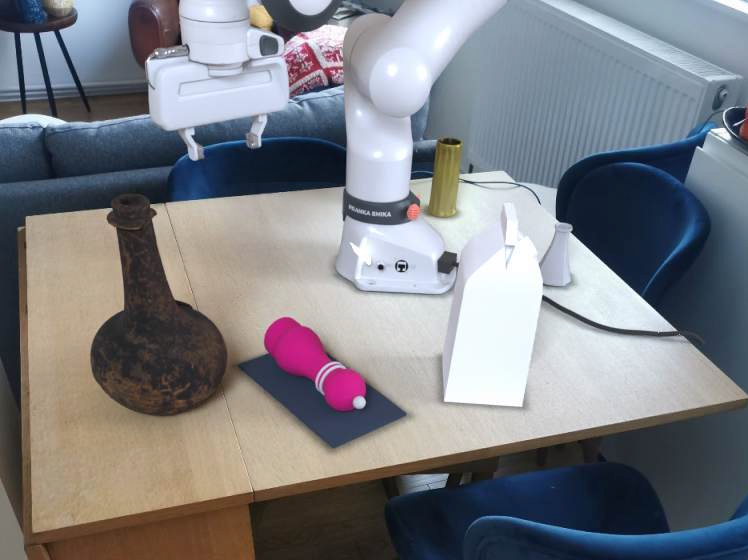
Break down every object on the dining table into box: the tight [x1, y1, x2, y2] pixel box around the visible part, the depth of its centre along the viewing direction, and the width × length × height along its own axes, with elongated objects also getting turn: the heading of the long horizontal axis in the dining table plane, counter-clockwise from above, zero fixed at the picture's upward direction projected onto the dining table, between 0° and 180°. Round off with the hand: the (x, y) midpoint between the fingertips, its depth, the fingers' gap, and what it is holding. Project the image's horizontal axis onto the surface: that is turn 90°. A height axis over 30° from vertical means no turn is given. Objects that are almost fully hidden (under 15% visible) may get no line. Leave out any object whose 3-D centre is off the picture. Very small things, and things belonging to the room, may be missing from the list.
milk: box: [441, 202, 544, 408], centre depth 106 cm, size 12×12×26 cm
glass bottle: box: [89, 193, 228, 417], centre depth 98 cm, size 18×18×28 cm
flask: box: [538, 222, 574, 287], centre depth 138 cm, size 7×7×10 cm
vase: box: [427, 136, 464, 218], centre depth 156 cm, size 6×6×14 cm
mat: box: [237, 351, 407, 449], centre depth 111 cm, size 24×13×1 cm, turn 39°
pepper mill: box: [263, 316, 366, 412], centre depth 108 cm, size 7×7×20 cm
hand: (225, 152), depth 108 cm, fingers open, 8 cm apart
